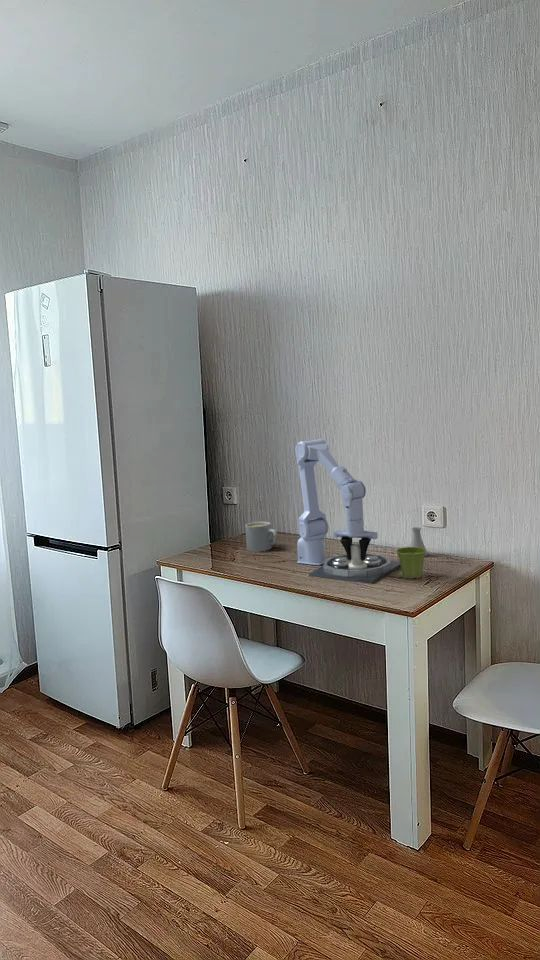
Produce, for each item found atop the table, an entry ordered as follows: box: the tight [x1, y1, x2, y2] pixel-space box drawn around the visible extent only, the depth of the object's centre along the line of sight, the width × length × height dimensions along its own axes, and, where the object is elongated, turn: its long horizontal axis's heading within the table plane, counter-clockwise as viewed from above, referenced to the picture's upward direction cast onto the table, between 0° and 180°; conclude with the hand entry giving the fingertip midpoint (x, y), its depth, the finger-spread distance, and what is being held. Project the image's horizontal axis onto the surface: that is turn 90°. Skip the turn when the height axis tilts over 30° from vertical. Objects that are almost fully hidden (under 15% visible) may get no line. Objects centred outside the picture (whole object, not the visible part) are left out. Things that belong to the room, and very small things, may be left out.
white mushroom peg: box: [349, 542, 367, 570], centre depth 226 cm, size 6×6×8 cm
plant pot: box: [396, 546, 427, 580], centre depth 220 cm, size 9×9×9 cm
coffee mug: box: [244, 521, 279, 553], centre depth 270 cm, size 13×10×10 cm
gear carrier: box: [308, 552, 401, 584], centre depth 232 cm, size 24×24×4 cm
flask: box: [409, 526, 429, 557], centre depth 245 cm, size 7×7×10 cm
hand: (356, 559), depth 225 cm, fingers closed on white mushroom peg, 4 cm apart
